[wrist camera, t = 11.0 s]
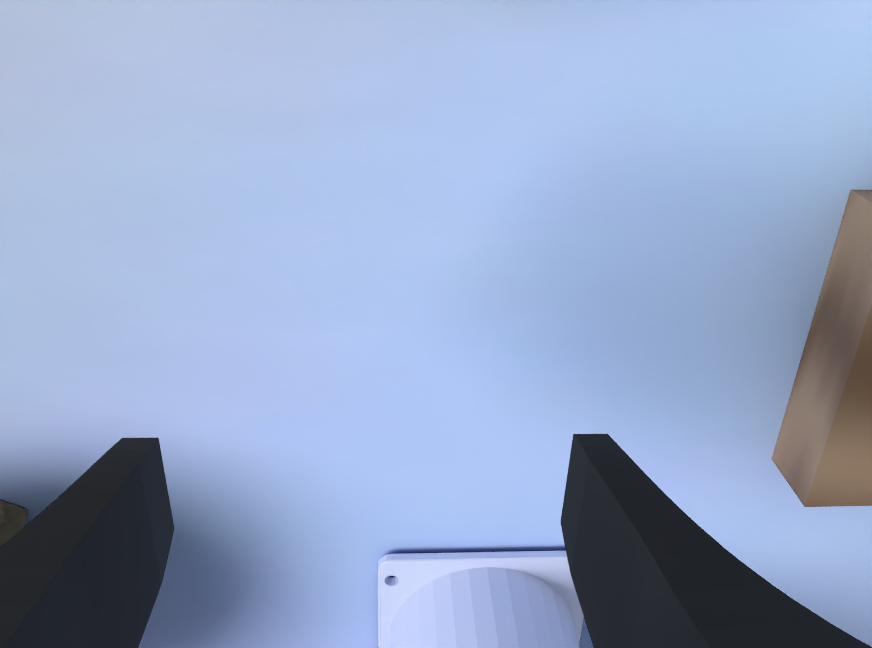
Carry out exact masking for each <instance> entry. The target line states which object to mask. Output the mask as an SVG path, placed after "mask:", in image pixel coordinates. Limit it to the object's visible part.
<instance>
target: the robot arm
mask: <svg viewBox="0 0 872 648" xmlns="http://www.w3.org/2000/svg"><path fill="white" fill-rule="evenodd" d="M561 526H562V532H563V538H564V543H565V549H566V551H519V552H465V553H411V554H388V555H385V556H383V557H382V558H381V559H380V560H379V562H378V648H580V647H579V642H580V636H581V631H582V625H583V619H585V622H586V625H587V628H588V631H589V634H590V637H591V640H592V643H593V646H594V648H872V647H871V646H869V645H867V644H865V643H863V642H861V641H860V640H858V639H856V638H854V637H853V636H851V635H849V634H848V633H846V632H844V631H842V630H841V629H839V628H837V627H836V626H834V625H832V624H831V623H829V622H827V621H826V620H824V619H823V618H821V617H820V616H818V615H817V614H815V613H813V612H812V611H810V610H809V609H807V608H806V607H804V606H803V605H801V604H799V603H798V602H796V601H795V600H793V599H792V598H790V597H789V596H787V595H786V594H784V593H783V592H782V591H780V590H779V589H777V588H776V587H774V586H773V585H772V584H770V583H769V582H768V581H766V580H765V579H764V578H762V577H761V576H760V575H758V574H757V573H756V572H754V571H753V570H752V569H750V568H749V567H748V566H746V565H745V564H744V563H742V562H741V561H740V560H738V559H737V558H736V557H735V556H733V555H732V554H731V553H730V552H728V551H727V550H726V549H725V548H724V547H722V546H721V545H720V544H719V543H718V542H717V541H716V540H714V539H713V538H712V537H711V536H710V535H709V534H707V533H706V532H705V531H704V530H703V529H702V528H701V527H699V526H698V525H697V524H696V523H695V522H694V521H693V520H692V519H691V518H690V517H688V516H687V515H686V514H685V513H684V512H683V511H682V510H681V509H680V508H679V507H678V506H677V505H676V504H675V503H674V502H673V501H672V500H671V499H670V498H669V497H668V496H667V495H666V494H665V493H664V492H663V491H662V490H661V489H660V488H659V487H658V486H657V485H656V484H655V483H654V482H653V481H652V480H651V479H650V478H649V477H648V476H647V475H646V474H645V473H644V472H643V471H642V470H641V469H640V468H639V467H638V466H637V465H636V463H635V462H634V461H633V460H632V459H631V458H630V457H629V456H628V455H627V454H626V453H625V452H624V451H623V450H622V449H621V448H620V447H619V446H618V444H617V443H616V442H615V441H614V440H613V439H612V438H611V437H610V436H609V435H608V434H573V441H572V448H571V455H570V461H569V468H568V475H567V482H566V489H565V496H564V503H563V509H562V516H561ZM173 531H174V525H173V519H172V513H171V507H170V502H169V496H168V490H167V484H166V479H165V473H164V467H163V462H162V456H161V450H160V444H159V439H158V438H122V439H121V440H119V441H118V442H117V443H116V444H115V445H114V446H113V447H112V448H111V449H110V450H108V451H107V452H106V453H105V454H104V455H103V456H102V457H101V458H100V459H99V460H98V461H97V462H96V463H94V464H93V465H92V466H91V467H90V468H89V469H88V470H87V471H86V472H85V473H84V474H83V475H82V476H81V477H80V478H78V479H77V480H76V481H75V482H74V483H73V484H72V485H71V486H70V487H69V488H68V489H67V490H66V491H64V492H63V493H62V494H61V495H60V496H59V497H58V498H57V499H56V500H54V501H53V502H52V503H51V504H50V505H49V506H48V507H47V508H46V509H44V510H43V511H42V512H41V513H40V514H39V515H38V516H37V517H36V518H34V519H33V520H32V521H31V522H30V523H28V524H27V525H26V526H25V527H23V528H22V529H21V530H20V531H19V532H17V533H16V534H15V535H14V536H13V537H11V538H10V539H9V540H8V541H7V542H5V543H4V544H3V545H2V546H0V648H138V647H139V644H140V641H141V639H142V636H143V633H144V631H145V628H146V625H147V622H148V620H149V617H150V614H151V611H152V609H153V606H154V603H155V600H156V598H157V595H158V592H159V589H160V586H161V583H162V580H163V576H164V571H165V567H166V563H167V559H168V554H169V550H170V545H171V540H172V536H173ZM388 576H396V577H393V578H390V577H388Z"/></svg>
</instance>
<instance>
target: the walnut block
mask: <svg viewBox="0 0 872 648" xmlns="http://www.w3.org/2000/svg"><path fill="white" fill-rule="evenodd" d="M772 460H773V462H774V463H775V465H776V466H777V467H778V469H779V470H780V472H781V473H782V475H783V476H784V478H785V479H786V481H787V482H788V483H789V485H790V486H791V488H792V489H793V491H794V492H795V494H796V495H797V496H798V498H799V499H800V501H801V502H802V504H803V505H804V507H821V506H871V505H872V190H851V191H850V194H849V198H848V201H847V204H846V208H845V211H844V215H843V218H842V221H841V225H840V228H839V232H838V235H837V238H836V242H835V245H834V249H833V252H832V256H831V259H830V262H829V266H828V269H827V273H826V276H825V279H824V283H823V286H822V290H821V293H820V296H819V300H818V303H817V307H816V310H815V313H814V317H813V320H812V324H811V327H810V330H809V334H808V337H807V341H806V344H805V347H804V351H803V354H802V358H801V361H800V364H799V368H798V371H797V375H796V378H795V381H794V385H793V388H792V392H791V395H790V398H789V402H788V405H787V409H786V412H785V415H784V419H783V422H782V426H781V429H780V432H779V436H778V439H777V443H776V446H775V450H774V453H773V456H772Z"/></svg>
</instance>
